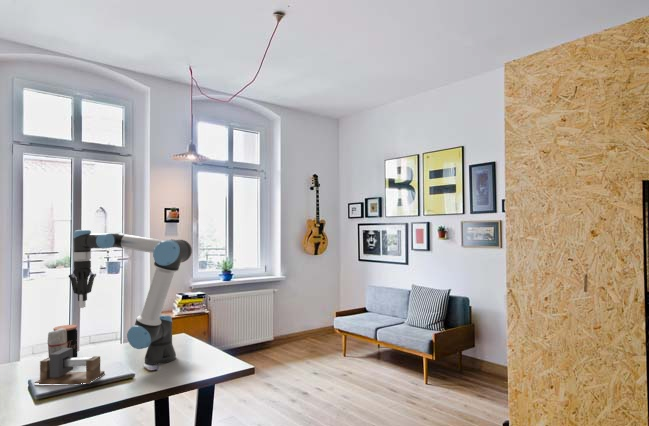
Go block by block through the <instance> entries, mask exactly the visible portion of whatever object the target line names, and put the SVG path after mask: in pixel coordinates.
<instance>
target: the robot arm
mask: <svg viewBox="0 0 649 426" xmlns="http://www.w3.org/2000/svg"><path fill="white" fill-rule="evenodd" d="M110 248H118V249H126V250H132V251H138V252H144V253H150V254H152V257H153V260H154V263H153V266H154V267H155V271H154V273H153V277H152V280H151V284H150V285H149V290H148V292H147V295H146V299H145V302H144V305H143V308H142V310H141V314H140V315H138V316H137V317H136V319H135V321H134V325H132V326H131V327H129V329H128V331H127V333H126V338H127V339H126V340H127V342H129V345H130V346H131V347H132V348H134V349H137V350H143V349H146V348H147V350H146V352H145V355H144V363H145V364H147V365H162V364H167V363H171V362H173V361H175V360H176V358H177V354H176V350H175V348H174V344H173V317H172V316H171V315H170V314H162V312H163V309H164V306H165V305H164V304H165V301H166V299H167V296H168V292H169V290H170V286H171V283H172V280H173V277H174V273H176V272H178V271H179V269H180V266H181V263H185V262H187V261H188V260H189V259H190V258H191V256H192V254H193V249H192V246H191V244H190V243H189V242H188V241H187V240H184V239H167V240H166V239H158V238H154V237H153V238H152V237H145V236H139V235H132V234H126V233H122V232H115V233H114V232H109V233H106V232H102V233H101V232H100V233H99V232H98V233H92V231H91V230H90V229H77V230H74V232H73V261H74V262H73V272H72V273H71V274H68V278H69V279H70V282H71V283H70V284H71V287H72V292H73V294H76V295H77V301H78V302H79V303H78V304H79V306H78V307H79V308H80V309H84V308H86V301H88V295H89V293H92V290H93V286H94V281H95V277H96V276H97V273H94V272H92V269H91V268H92V261H91V259H92V255H91V254H92V249H110Z"/></svg>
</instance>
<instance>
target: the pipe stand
mask: <svg viewBox="0 0 649 426" xmlns="http://www.w3.org/2000/svg"><path fill="white" fill-rule="evenodd" d="M93 357H94V358H93V359H91V358H90V359H88V360H86V366H85V370H86V371H69V372H67V373H65V374H64V375H62V376H60V377H50V367H49V360H47V359H49V358H50V357H49V356H48V357H47V358H44V359H42V360H40V361H39V379H38V380H36V381H34V383H39V384H81V383H82V384H83V383H86V384H89V383H90V382H91V381H93V380H95V379H96V378H98V377H100V376H101V377H103V376H104V375H105V370H103V371H102V370H101V356H100V355H95V356H94V355H93ZM103 374H104V375H103ZM102 375H103V376H102ZM101 377H100V378H101ZM98 379H99V378H98ZM96 380H97V379H96ZM96 380H95V381H96ZM93 382H94V381H93ZM90 384H91V383H90ZM90 384H89V385H90Z"/></svg>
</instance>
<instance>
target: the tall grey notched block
mask: <svg viewBox="0 0 649 426" xmlns="http://www.w3.org/2000/svg"><path fill="white" fill-rule="evenodd" d="M64 358H73V348H63V349H61V350H59V351H57V352H54V353H52V354H50V377H60V376H62V375H64V374H65V373H67V372H72V371H73V369H74V368H73V367H74V366H67V367H63V359H64Z"/></svg>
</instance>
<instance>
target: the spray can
mask: <svg viewBox="0 0 649 426" xmlns="http://www.w3.org/2000/svg"><path fill="white" fill-rule="evenodd" d="M63 348H67V331H66V329H64V328H60V329H57V330H55V331H54V330H53V331H49V332H48V334H47V350H48V351H47V352H48V358H49V357H50V354H52V353H54V352H57V351H59V350H61V349H63Z"/></svg>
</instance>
